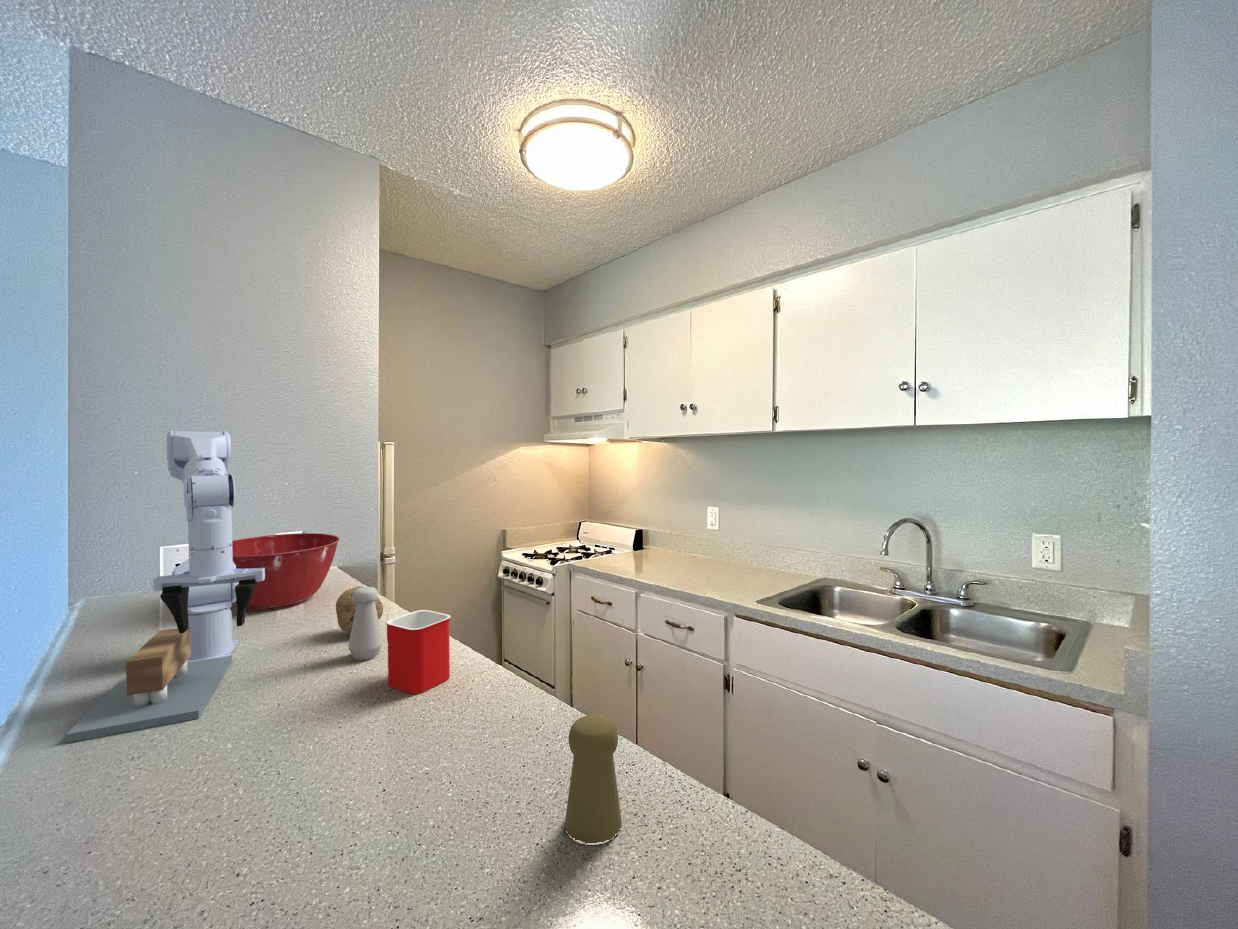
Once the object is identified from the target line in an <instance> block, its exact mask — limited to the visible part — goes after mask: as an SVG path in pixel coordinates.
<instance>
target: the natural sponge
mask: <svg viewBox="0 0 1238 929" xmlns="http://www.w3.org/2000/svg"><path fill="white" fill-rule="evenodd" d="M362 587H363V586H356V587H352V588H349V589H347V590H345V591H344V592H342V594H340V596H339V597H338V598H337V600H336V603H335V611H336V617H337V624H338V627H339V628H340V629H341V630H342V631H343V632H347V633H349V634H350V635H351V630H352V625H353V620H354V615H355V610H356V605H357V603H355V602H353V599H352V595H353V592H354V591H355V590H356V589H359V588H362ZM375 606H376V611H377V616H378V621H379V620H380V619H381V618H382V617H383V614H384V604H383V602H382V601H381V599H380V597H378V598H377V599H376V600H375Z"/></svg>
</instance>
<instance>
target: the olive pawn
mask: <svg viewBox="0 0 1238 929" xmlns="http://www.w3.org/2000/svg"><path fill="white" fill-rule="evenodd" d="M618 743H619V732H618V729H617V726H616V724H615V723H614V721H613V720H611V719H610V718H609V717H607V716H605V715H601V714H588V715H583V716H581V717H580V718H578V719H576V720H575V721H574V722H573V723H572V725H571V727H570V729H569V732H568V744H569V749H570V753H571V754H572V755H573V760H572V766H571V774H570V780H569V788H568V789H569V791H568V796H567V805H566V812H565V819H564V829H565V828H566V831H567V832H568V834H569V835H570V836H571V837H572V838H575V840H580V841H582V842H585V843H597V842H604V841H606V840H610V839H612V838H613V837H614V836H615V834H617V833H618V831H619V829H620V828H621V829H622V826H621V822H622V823H623V821H622V815H621V814H622V813H621V805H620V797H619V791H618V781H617V774H616V767H615V759H614V753H615V752H616V751H617V748H618ZM566 831H565V832H566Z"/></svg>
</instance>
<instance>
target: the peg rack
mask: <svg viewBox="0 0 1238 929" xmlns="http://www.w3.org/2000/svg"><path fill="white" fill-rule="evenodd" d="M232 663H233V655H230V656H227V657H220V658H213V659H206V660H199V661H193V662H187V661H186V662H185V663H184V664H183V666H182V667H181V668H180V669H179V671H178V672H177V673H176V674H175V675H174V677H173V678H172V679H171V680H170V682H169V683H168V684H167V685H166V687H165V688H164V689H163V690H159V691H153V692H147V693H141V694H135V695H128V696H127V682H126V676H124V678H122V680H120V681H119V682H118V683H117V684H116V685H115V686H114V687H113V688H112V689H111V690H110V691H109V692H108V693H107V694H105V696H103V698H102V699H101V700H99V702H98V703H96V704H95V706H94V707H93V708H92V709H90V710H89V711H88V712H87V713H86V715H85V716H84V717H82V718H81V719H80V720H79V721H78V722H77V723H76V724H75V725H73V727H72V728H71V729H70V730H69V731H68V732H67V733H66V734H65V736H66V738H65V739H66V744H70V743H74V742H75V743H76V742H80V741H84V740H85V741H86V740H92V739H97V738H101V737H107V736H111V735H116V734H117V735H118V734H123V733H129V732H133V731H138V730H143V729H144V730H145V729H151V728H155V727H162V726H165V725H171V724H176V723H182V722H186V721H187V722H188V721H192V720H197V719H200V717H201V715H202V714H203V713H204V711H205V709H206V707H207V705H208V704H209V702H210V700H211V699H212V697H213V695H214V694H215V692H216V690H217V689H218V687H219V685H220V683H221V682H222V681H223V679H224V677H225V675H226V673H227V672H228V670H229V668H230V667H231V665H232Z"/></svg>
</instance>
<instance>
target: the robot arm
mask: <svg viewBox="0 0 1238 929" xmlns="http://www.w3.org/2000/svg"><path fill="white" fill-rule="evenodd" d="M231 455H232V442H231V435H230V433H228V431H225V430H224V431H189V430H187V431H186V430H185V431H182V430H179V431H177V430H175V431H174V430H172V429H171V430H170V429H169V430H168V432H167V433H166V458H167V466H168V467H167V469H168V470H167V471H169V475H170V477H172V478H175V479H177V480H180V481H181V483H182V486H183V504H184V505H183V506H184V508H185V513H186V514H185V515H186V521H187V534H188V536H187V537H188V558H187V559H186V560H184V561H183V562H182V563H180V564H179V565H177V566H176V567H174V569H173V571H172V572H171V574H169V575H162V576H161V575H160V576H157V577H155V578H153V580H152V584H153V588H152V590H153V592H157V591H158V592H159V591H162V592H161V593H160V594H159V598H160V600H161V601H162V603H164V604H165V606H166V607H167V609H168V610H169V611H170V613H171V615H172V617H173V619H174V621H175V624H176V626H177V628H178V631H179V633H185V632H186V631H187V630H188V627H190V647H191V656H190V657H189V658H188V660H187V662H193V661H199V660H206V659H213V658H220V657H227V656H231V654H232V653H233V650H234V649H235V648H236V646H237V644H238V642H239V639H233V615H232V610H231V608H232V604H234V603H235V602H236V601H237V604H236V620H235V622H236V627H242V626H243V625H244V624H245V620H246V614H247V610H248V609H247V607H248V604H249V601H250V599H251V596H252V594H253V592H254V590H255V588H256V586H257V584H258V582H259V581H263V580H264V579H265V568H252V569H236V565H235V564H234V562H233V551H232V541H233V517H232V516H233V511H232V508H234V507H235V502H236V483H235V479H234V476H233V473H228V470H229V469H230V459H231ZM230 507H231V508H230Z"/></svg>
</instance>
